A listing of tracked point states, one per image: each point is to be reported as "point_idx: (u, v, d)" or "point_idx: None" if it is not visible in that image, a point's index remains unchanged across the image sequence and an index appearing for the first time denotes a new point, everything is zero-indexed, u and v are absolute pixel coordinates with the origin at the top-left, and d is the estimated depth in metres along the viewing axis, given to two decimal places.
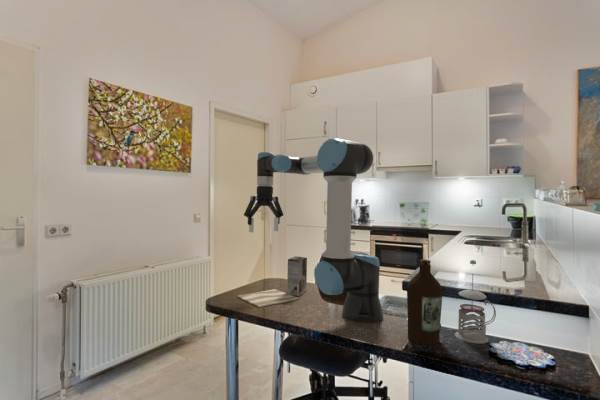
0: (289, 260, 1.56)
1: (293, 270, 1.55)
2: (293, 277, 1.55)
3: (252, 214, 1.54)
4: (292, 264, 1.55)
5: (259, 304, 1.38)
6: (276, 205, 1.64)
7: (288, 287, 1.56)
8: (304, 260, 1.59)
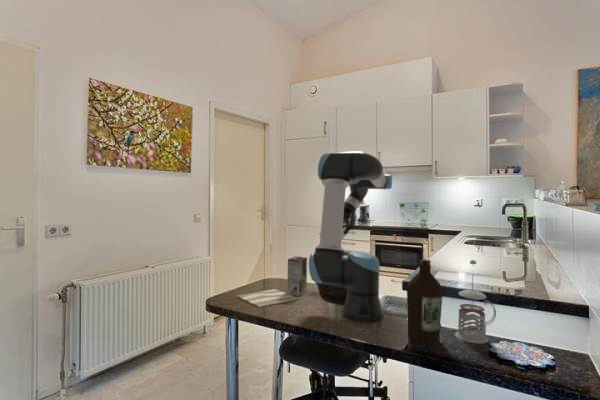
0: (289, 260, 1.56)
1: (293, 270, 1.55)
2: (293, 277, 1.55)
3: None
4: (292, 264, 1.55)
5: (259, 304, 1.38)
6: None
7: (288, 287, 1.56)
8: (304, 260, 1.59)
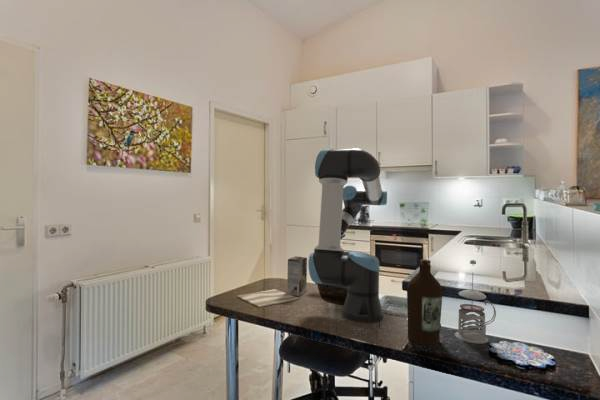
0: (289, 260, 1.56)
1: (293, 270, 1.55)
2: (293, 277, 1.55)
3: None
4: (292, 264, 1.55)
5: (259, 304, 1.38)
6: None
7: (288, 287, 1.56)
8: (304, 260, 1.59)
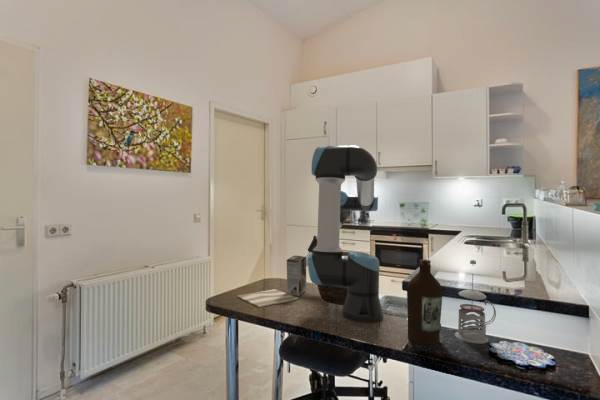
0: (288, 260, 1.55)
1: (293, 270, 1.54)
2: (292, 277, 1.55)
3: (311, 249, 1.67)
4: (291, 264, 1.54)
5: (259, 304, 1.38)
6: None
7: (288, 287, 1.56)
8: (303, 260, 1.58)
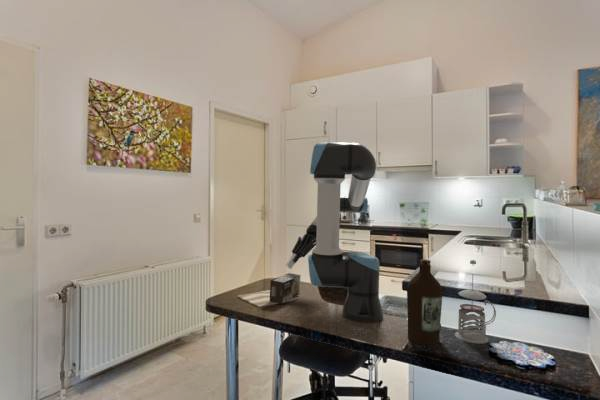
0: None
1: None
2: None
3: (295, 250, 1.61)
4: None
5: (259, 304, 1.38)
6: None
7: None
8: (284, 290, 1.40)
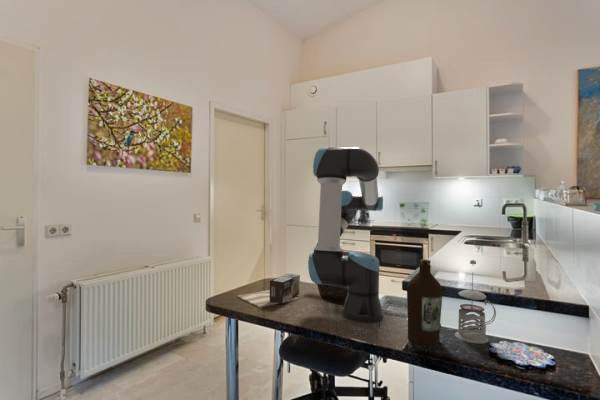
0: (271, 301, 1.42)
1: None
2: None
3: None
4: None
5: (259, 304, 1.38)
6: None
7: None
8: (283, 290, 1.41)
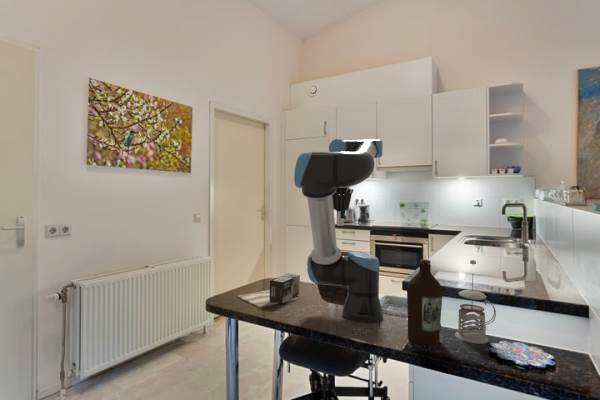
0: (271, 301, 1.42)
1: None
2: None
3: (337, 207, 1.58)
4: None
5: (259, 304, 1.38)
6: None
7: None
8: (283, 290, 1.41)
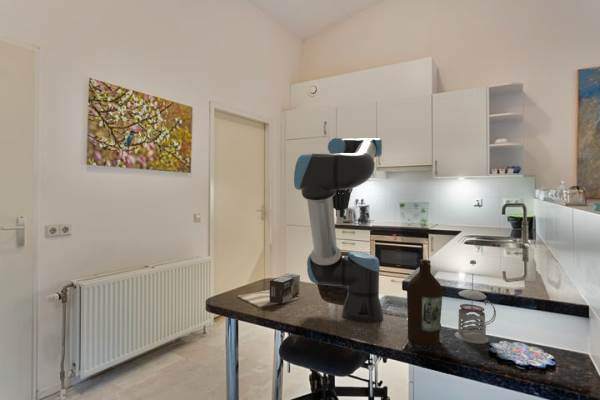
0: (271, 301, 1.42)
1: None
2: None
3: (336, 206, 1.57)
4: None
5: (259, 304, 1.38)
6: None
7: None
8: (283, 290, 1.41)
